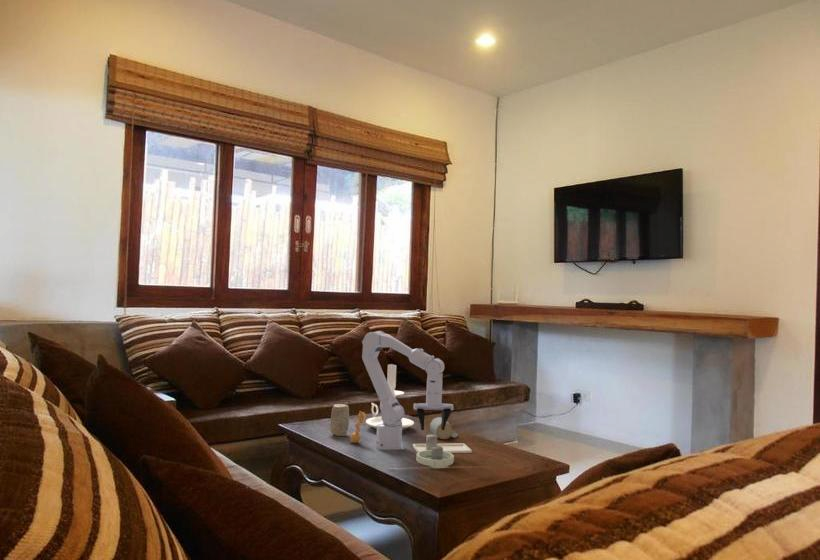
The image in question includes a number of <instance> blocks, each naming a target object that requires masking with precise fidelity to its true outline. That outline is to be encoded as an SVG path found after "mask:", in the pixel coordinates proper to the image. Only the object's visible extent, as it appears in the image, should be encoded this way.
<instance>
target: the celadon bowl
mask: <svg viewBox="0 0 820 560" xmlns="http://www.w3.org/2000/svg"><path fill="white" fill-rule="evenodd" d="M415 456H416V457H415V459H416V462H417V463H418V464H421V465H423V466H424V467H425V468H431V469H446V468H450V467H452V466H451V465H453V463H454V462H455V455H454V453H449V452H446V451H443V460H434V459H431V450H424V451H419V452H418V453H417V452H416V454H415Z"/></svg>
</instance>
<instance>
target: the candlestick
mask: <svg viewBox="0 0 820 560" xmlns="http://www.w3.org/2000/svg"><path fill="white" fill-rule="evenodd" d="M386 375H387V377H386V380H387V383H388V385H389V387H390V390H391V392H392V394H393V396H394V397H395V398H396V397H398V396H401V395H405V392H404V391H401V390H396V386H397V384H396V383H397V365H396V364H387V374H386ZM374 407H375V410H376V411H374ZM371 413H372V417H369V418H367V420H366V423H365V424H367V425H369V426H371V427H372V428H373V429H376V430H377V425H378V424H383V421H382V418H381V416H377V415H378V413H379V407H378V405H377V404H376V403H374V402H371ZM401 421H402V431H403V430H406V429H407V428H409V427H411V426H413V425H414V424H415V422H414V421H413V420H412V419H409V418H406V417H403V418H402V419H401Z"/></svg>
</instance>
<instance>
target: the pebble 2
mask: <svg viewBox="0 0 820 560" xmlns="http://www.w3.org/2000/svg"><path fill="white" fill-rule="evenodd" d="M431 459H434V460H443V448H442V447H439V446H434V447H431Z"/></svg>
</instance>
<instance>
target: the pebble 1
mask: <svg viewBox="0 0 820 560" xmlns="http://www.w3.org/2000/svg"><path fill="white" fill-rule="evenodd" d="M425 437H426V441H425V444H426V450H431V447H434V446H437V444H438V437H437V435H433V434H426V436H425Z"/></svg>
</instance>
